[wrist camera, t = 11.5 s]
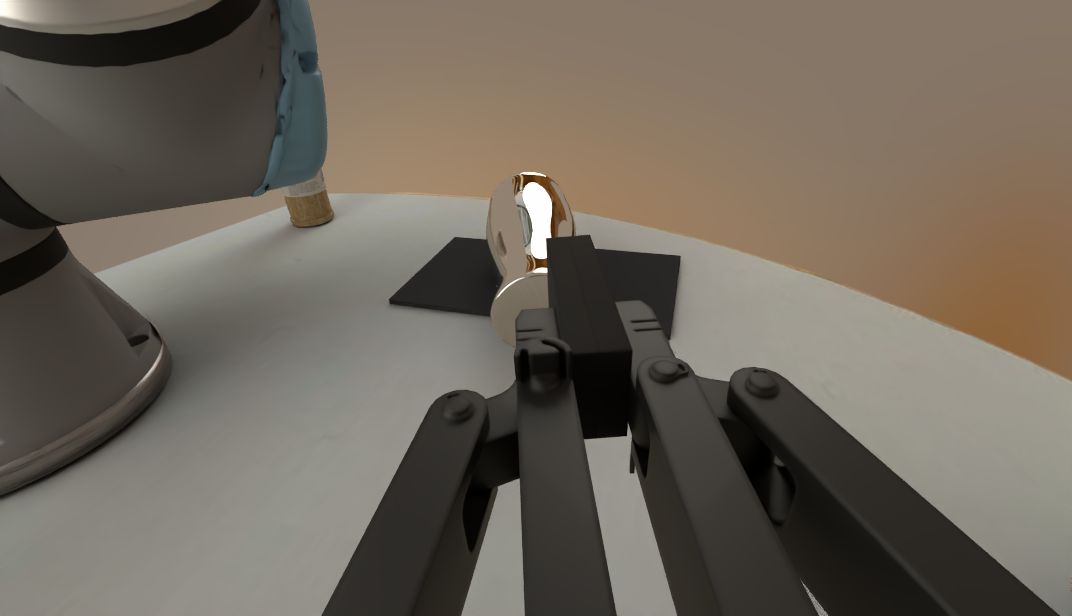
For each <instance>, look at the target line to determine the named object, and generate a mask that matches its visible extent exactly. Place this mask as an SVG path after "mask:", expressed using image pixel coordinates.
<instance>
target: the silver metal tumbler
mask: <svg viewBox="0 0 1072 616" xmlns="http://www.w3.org/2000/svg"><path fill="white" fill-rule="evenodd" d="M566 236H577V234H576V227H575V223H574V219H573V216H572V213H571V210H570V208H569V205H568V203H567V201H566V199H565V196H564V194H563V192H562V190H561V188H560V187H559V186H558V185H557V184H556V183H555V182H554V181H553V180H552V179H550V178H549V177H547V176H545V175H542V174H539V173H534V172H524V173H518V174H515V175H513V176H510V177H508V178H507V179H505V180H504V181H502V182H501V183H500V184H499V185H498V186H497V188H496V189H495V191H494V192H493V194H492V197H491V200H490V205H489V211H488V216H487V224H486V243H487V249H488V254H489V258H490V261H491V264H492V267H493V270H494V273H495V276H496V280H497V289H496V292H495V295H494V298H493V301H492V305H491V313H490V315H491V322H492V325H493V328H494V330H495V332H496V333H497V335H498V336H499V337H500V338H501V339H502V340H503V341H504V342H505V343H507V344H508V345H510V346H512V347H514V348H516V334H515V333H516V332H515V319H516V317H517V316H518V314H519V313H520V311H521V310H524V309H538V308H549V305H548V280H547V256H546V238H551V237H566Z"/></svg>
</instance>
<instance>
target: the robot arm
mask: <svg viewBox="0 0 1072 616" xmlns="http://www.w3.org/2000/svg"><path fill="white" fill-rule="evenodd" d="M317 62H318V54H317V45H316V36H315V30H314V25H313V21H312V17H311V12H310V8H309V3H308V0H0V496H1V495H3V494H6V493H8V492H11V491H13V490H15V489H17V488H20V487H22V486H24V485H27V484H29V483H31V482H33V481H35V480H37V479H39V478H42V477H44V476H46V475H48V474H50V473H52V472H53V471H55V470H57V469H59V468H61V467H63V466H65V465H67V464H68V463H70V462H72V461H74V460H75V459H77V458H79V457H81V456H82V455H84V454H86V453H87V452H89V451H90V450H92V449H94V448H95V447H97V446H98V445H100V444H101V443H103V442H104V441H106V440H107V439H108V438H110V437H111V436H113V435H114V434H116V433H117V432H118V431H119V430H121V429H122V428H123V427H125V426H126V425H127V424H128V423H130V422H131V421H132V420H133V419H134V418H135V417H137V416H138V415H139V414H140V413H141V412H142V411H143V410H144V409H145V408H146V407H147V406H148V405H149V404H150V403H151V402H152V401H153V400H154V399H155V397H156V396H157V395H158V394H159V392H160V391H161V390H162V388H163V387H164V385H165V384H166V382H167V380H168V378H169V376H170V373H171V370H172V363H173V360H172V355H171V353H170V351H169V349H168V347H167V345H166V344H165V342H164V340H163V338H164V337H163V336H161V335H162V334H161V333H160V331H159V330H158V328H157V327H156V325H155V324H154V322H153V321H152V320H151V319H150V317H149V316H148V315H147V316H148V317H149V319H150V320H151V322H152V323H153V325H154V326H155V327H154V326H153V325H152V324H151V323H150V322H149V321H148V320H147V319H146V318H145V317H143V316H142V315H141V314H140V313H139V312H137V311H136V310H135V309H134V308H133V307H132V306H130V305H129V304H128V303H127V302H126V301H124V300H123V299H122V298H121V297H120V296H119V295H117V294H116V293H115V292H114V291H113V290H111V289H110V288H109V287H108V286H107V285H106V284H104V283H103V282H102V281H101V280H100V279H98V278H97V277H96V276H95V275H94V274H93V273H91V272H90V271H89V270H88V269H87V268H85V267H84V266H83V265H82V264H81V263H79V261H78V260H77V259H76V258H75V257H74V255H73V254H72V252H71V251H70V249H69V248H68V246H67V244H66V242H65V241H64V239H63V237H62V236H61V234H60V233H59V231H58V229H57V228H56V226H60V225H66V224H73V223H78V222H85V221H92V220H98V219H105V218H111V217H118V216H124V215H130V214H137V213H144V212H150V211H156V210H163V209H170V208H176V207H182V206H189V205H195V204H202V203H209V202H214V201H221V200H228V199H234V198H241V197H248V196H252V197H256V196H259V195H262V194H264V193H265V192H267V191H269V190H273V189H277V188H282V187H286V186H291V185H295V184H299V183H303V182H306V181H308V180H310V179H312V178H313V177H315V176H316V175H317V174H318V172H319V171H320V169H321V168H322V166H323V164H324V161H325V156H326V150H327V117H326V104H325V94H324V87H323V80H322V75H321V72H320V69H319V66H318V64H317ZM546 256H547V280H548V305H549V308H538V309H524V310H521V311H520V313H519V314H518V316H517V317H516V319H515V332H516V333H515V334H516V350H515V353H514V363H515V375H516V380H515V382H514V383H513V385H512V386H511V387H510V388H509V389H508V390H506V391H505V392H503V393H501V394H499V395H496V396H494V397H491V398H488V399H485V398H484V397H483V396H481V395H480V394H478V393H477V392H473V391H469V390H456V391H452V392H449V393H446V394H444V395H442V396H441V397H439V398H438V399H436V400H435V401H434V403H433V404H432V405H431V406H430V408H429V410H428V412H427V414H426V415H425V417H424V419H423V421H422V423H421V425H420V427H419V429H418V431H417V433H416V435H415V437H414V439H413V440H412V442H411V444H410V446H409V448H408V450H407V452H406V454H405V456H404V458H403V460H402V462H401V464H400V466H399V467H398V469H397V471H396V473H395V475H394V477H393V479H392V481H391V483H390V485H389V487H388V489H387V491H386V492H385V494H384V496H383V498H382V500H381V502H380V504H379V506H378V508H377V510H376V512H375V514H374V516H373V517H372V519H371V521H370V523H369V525H368V527H367V529H366V531H365V533H364V535H363V537H362V539H361V541H360V543H359V544H358V546H357V548H356V550H355V552H354V554H353V556H352V558H351V560H350V562H349V564H348V566H347V568H346V569H345V571H344V573H343V575H342V577H341V579H340V581H339V583H338V585H337V587H336V589H335V591H334V593H333V595H332V596H331V598H330V600H329V602H328V604H327V606H326V608H325V610H324V612H323V614H322V616H461V614H462V611H463V607H464V604H465V600H466V597H467V594H468V590H469V587H470V583H471V580H472V577H473V573H474V570H475V566H476V563H477V559H478V556H479V553H480V549H481V546H482V542H483V539H484V536H485V532H486V529H487V525H488V522H489V519H490V515H491V512H492V508H493V505H494V502H495V498H496V495H497V491H498V486H500V485H503V484H505V483H508V482H510V481H513V480H516V479H518V478H520V495H521V522H522V548H523V575H524V602H525V616H617V614H616V609H615V603H614V598H613V593H612V587H611V582H610V577H609V571H608V566H607V561H606V556H605V550H604V545H603V540H602V534H601V529H600V524H599V518H598V513H597V508H596V502H595V497H594V492H593V486H592V481H591V476H590V470H589V465H588V460H587V454H586V449H585V444H584V439H594V438H607V437H620V436H627V428H628V423H629V427H630V430H631V433H632V441H631V455H630V473H634V470H635V467H636V470H637V474H638V478H639V481H640V485H641V488H642V492H643V495H644V499H645V502H646V506H647V509H648V513H649V517H650V520H651V524H652V527H653V531H654V534H655V538H656V541H657V545H658V549H659V552H660V556H661V559H662V563H663V566H664V570H665V573H666V577H667V581H668V584H669V588H670V591H671V595H672V598H673V602H674V605H675V609H676V612H677V616H819V615H818V613H817V611H816V609H815V607H814V605H813V603H812V601H811V599H810V597H809V595H808V593H807V591H806V589H805V588H804V586H803V584H802V582H803V583H804V584H805V586H806V587H807V588H808V589H809V591H810V592H811V593H812V595H813V596H814V597H815V598H816V600H817V601H818V602H819V604H820V605H821V606H822V608H823V609H824V610H825V611H826V613H827V614H828V615H829V616H1060V615H1059V614H1057V613H1056V612H1055V611H1054V610H1053V609H1052V608H1050V607H1049V606H1048V605H1047V604H1046V603H1045V602H1044V601H1042V600H1041V599H1040V598H1039V597H1038V596H1037V595H1035V594H1034V593H1033V592H1032V591H1031V590H1030V589H1029V588H1027V587H1026V586H1025V585H1024V584H1023V583H1022V582H1020V581H1019V580H1018V579H1017V578H1016V577H1015V576H1013V575H1012V574H1011V573H1010V572H1009V571H1008V570H1007V569H1005V568H1004V567H1003V566H1002V565H1001V564H1000V563H998V562H997V561H996V560H995V559H994V558H993V557H991V556H990V555H989V554H988V553H987V552H986V551H985V550H983V549H982V548H981V547H980V546H979V545H978V544H976V543H975V542H974V541H973V540H972V539H971V538H970V537H968V536H967V535H966V534H965V533H964V532H963V531H961V530H960V529H959V528H958V527H957V526H956V525H954V524H953V523H952V522H951V521H950V520H949V519H948V518H946V517H945V516H944V515H943V514H942V513H941V512H939V511H938V510H937V509H936V508H935V507H934V506H933V505H931V504H930V503H929V502H928V501H927V500H926V499H924V498H923V497H922V496H921V495H920V494H919V493H917V492H916V491H915V490H914V489H913V488H912V487H911V486H909V485H908V484H907V483H906V482H905V481H904V480H902V479H901V478H900V477H899V476H898V475H897V474H896V473H894V472H893V471H892V470H891V469H890V468H889V467H887V466H886V465H885V464H884V463H883V462H882V461H880V460H879V459H878V458H877V457H876V456H875V455H874V454H872V453H871V452H870V451H869V450H868V449H867V448H865V447H864V446H863V445H862V444H861V443H860V442H859V441H857V440H856V439H855V438H854V437H853V436H852V435H850V434H849V433H848V432H847V431H846V430H845V429H843V428H842V427H841V426H840V425H839V424H838V423H837V422H835V421H834V420H833V419H832V418H831V417H830V416H828V415H827V414H826V413H825V412H824V411H823V410H822V409H820V408H819V407H818V406H817V405H816V404H815V403H813V402H812V401H811V400H810V399H809V398H808V397H806V396H805V395H804V394H803V393H802V392H801V391H800V390H798V389H797V388H796V387H795V386H794V385H793V384H791V383H790V382H789V381H788V380H787V379H785V378H784V377H782V376H781V375H779V374H778V373H776V372H773V371H770V370H767V369H764V368H757V367H749V368H742V369H740V370H738V371H735V372H734V373H733V375H732V376H731V378H730V382H727V381H720V380H713V379H708V378H703V377H700V376H697V375H695V373H694V371H693V370H692V369H691V367H690V366H689V365H688V364H687V363H685V362H684V361H682V360H680V359H678V358H676V357H675V355H674V353H673V351H672V349H671V347H670V345H669V343H668V341H667V339H666V337H665V335H664V332H663V330H661V326H660V324H659V322H658V321H657V318H656V316H655V314H654V312H653V310H652V308H650V307H649V306H648V305H646V304H645V303H644V302H642V301H641V300H635V301H621V302H615V301H614V298H613V296H612V293H611V290H610V288H609V285H608V282H607V280H606V277H605V274H604V272H603V269H602V266H601V264H600V261H599V258H598V256H597V253H596V250H595V248H594V245H593V242H592V240H591V237H590V235H581V236H566V237H551V238H546ZM162 337H163V338H162ZM800 579H801V580H802V582H801V580H800Z"/></svg>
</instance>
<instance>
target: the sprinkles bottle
mask: <svg viewBox="0 0 1072 616" xmlns="http://www.w3.org/2000/svg"><path fill="white" fill-rule="evenodd" d="M281 191H282V194H283V195H284V197H285V200H286V204H287V207H288V210H289V213H290V216H291V217H290V219H291V222H292V223H293V225H295V226H300V227H304V226H314V225H319V224H323V223H325V222H328V221H330V220H331V219H332V218H333V217H334V212H333V210H332V209H331V205H330V202H329V198H328V195H327V191H326V184H325V181H324V177H323V173H322V170H321V169H320V171H319V172H318V174H317V175H316V176H315V177H313V178H312V179H310V180H308V181H306V182H303V183H299V184H295V185H291V186H286V187H282V188H281Z"/></svg>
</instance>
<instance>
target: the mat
mask: <svg viewBox="0 0 1072 616" xmlns="http://www.w3.org/2000/svg"><path fill="white" fill-rule="evenodd" d="M595 250H596V253H597V256H598V258H599V261H600V264H601V266H602V269H603V272H604V274H605V277H606V280H607V282H608V285H609V288H610V290H611V293H612V296H613V298H614V301H615V302H621V301H635V300H641V301H642V302H644V303H645V304H646V305H648V306H649V307H650V308H652V310H653V312H654V314H655V316H656V318H657V321H658V322H659V324H660V326H661V330H663V332H664V335H665V337H666V339H670V335H671V327H672V319H673V311H674V304H675V296H676V288H677V280H678V273H679V265H680V257H681V256H676V255H664V254H652V253H640V252H628V251H616V250H604V249H595ZM496 289H497V280H496V276H495V273H494V270H493V267H492V264H491V261H490V258H489V254H488V249H487V243H486V240H484V239H472V238H460V237H455V238H453V239H452V240H451V241H450V242H449V243H448V244H447V245H446V246H445V247H444V248H443V249H442V250H441V251H440V252H439V253H438V254H436V255H435V256H434V257H433V258H432V259H431V260H430V261H429V262H428V263H427V264H426V265H425V266H424V267H423V268H422V269H421V270H419V271H418V272H417V273H416V274H415V275H414V276H413V277H412V278H411V279H410V280H409V281H408V282H407V283H406V284H405V285H404V286H403V287H401V288H400V289H399V290H398V291H397V292H396V293H395V294H394V295H393V296H392V297H391V298H390V299H389V302H390V304H397V305H405V306H413V307H421V308H428V309H436V310H444V311H452V312H459V313H467V314H475V315H483V316H491V315H490V313H491V305H492V301H493V298H494V295H495V292H496Z"/></svg>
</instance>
